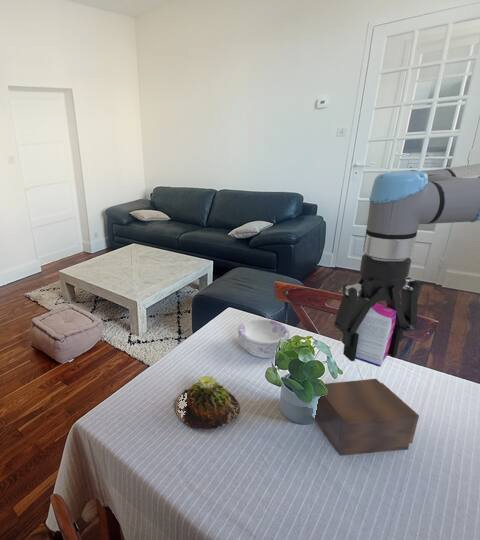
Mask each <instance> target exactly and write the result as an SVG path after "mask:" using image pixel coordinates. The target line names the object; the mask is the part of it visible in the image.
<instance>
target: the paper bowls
mask: <svg viewBox="0 0 480 540" xmlns="http://www.w3.org/2000/svg"><path fill="white" fill-rule="evenodd" d="M283 338H284V339H289V340H290V330H289V329H288V327H287V326H286V325H285V324H283V323H281V322H279V321H277V320H273V319H268V318H253V319H248V320H246V321H244V322H241V324H240V325H239V326H238V343H239V345H240V346H241V347H242V348H243V349H244V350H245V351H247V352H248V353H250V355H252V356H254V357H257V358H262V359H271V358H274V355H275V351H276V347H277V344H278V342H279V340H280V339H283Z"/></svg>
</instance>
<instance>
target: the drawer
mask: <svg viewBox="0 0 480 540" xmlns="http://www.w3.org/2000/svg"><path fill="white" fill-rule="evenodd" d="M380 383H381V384H383V385H384V386H385V387H386V388H387V389H388V390H389V391H390V392H391V393H393V394H394V395H395V396H396V397H397V398H398V399H399V400H400V401H402V402H403V403H404V404H405V405H406V406H407V407H408V408H409V409H411V410H412V411H413V412H414V413H415V414H416V419H415V423H414V427H413V431H412V435H411V439H410V443H409V445H411V444H413V442H414V438H415V433H416V430H417V426H418V421H419V417H420V415H419V414H418V413H417V412H416V411H415V410H413V408H411V407H410V406H409V405H408V404H407V403H406V402H405V401H404V400H403V399H402V398H400V397H399V396H398V395H397V394H395V392H393V391H392V390H391V389H390V388H389V387H388V386H387V385H386V384H384V383H383V382H380Z"/></svg>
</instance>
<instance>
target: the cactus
mask: <svg viewBox="0 0 480 540" xmlns="http://www.w3.org/2000/svg"><path fill="white" fill-rule="evenodd" d="M191 385H192V386H189V388H188V389H184V391H183V392H182V393H181V394H183V398H185V396H184V395H185V393H187V399H186V400H185V402H187V403H186V404H187V406H186V407H185V406H184V408H183V409H181V408H179V406H178V405H179V404H180V403H179V402H180V401H181V400H180V401H179V399H180V398H179V397H180V395H178V398H179V399H178V398H177V399H176V400H175V405H174V407H175V412H176V413H175V414H176V416H177V417H178V418H179V419H180V421H181V422H182V423H184V424H185V425H187V426H188V428H191V429H193V430H194V429H195V430H196V429H198V430H213V429H218V428H219V427H224V426H226V425H228V424H230V423H232V422H233V421H234V420H236V419H237V418H238V417H239V416H240V411H241V406H240V403H239V402H238V400H237V399H236V397H235V396H234V394H232V393H231V392H230V391H229V390H228V389H227V388H226V387H224V384H220V382H219V381H217V379H216V378H214V377H213V376H210V375H204V376H203V377H200V378H199V379H198V380H197V382H195V383H193V384H191ZM183 400H184V399H182V401H183ZM178 403H179V404H178ZM178 410H180V411H181V410H182V411H183V412H184V411H186V412H185V413H184V414H185V415H183V417H182V418H181V413H179V412H178Z"/></svg>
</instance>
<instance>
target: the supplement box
mask: <svg viewBox="0 0 480 540" xmlns="http://www.w3.org/2000/svg"><path fill="white" fill-rule="evenodd" d="M395 321H396V311H395V310H394V309H392V308H390V307H388V306H387V305H386V304H379V303H376V304H375V306H373V307H371V308H370V310H369V311H368V313H367V314H366V316H365V318H364V319H363V321H362V322H361V324H360V326H359V327H358V329H357V330H356V333H358V334H359V337H358V343H357V350H356V356H355V360H357V361H361V362H363V363H367V364H369V365H373V366H375V367H379V368H380V367H382V365H383V362H384V361H385V359H386V358H387V357H388V355H389V354H388V351H389V347H390V343H391V338H392V334H393V329H394V325H395Z"/></svg>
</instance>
